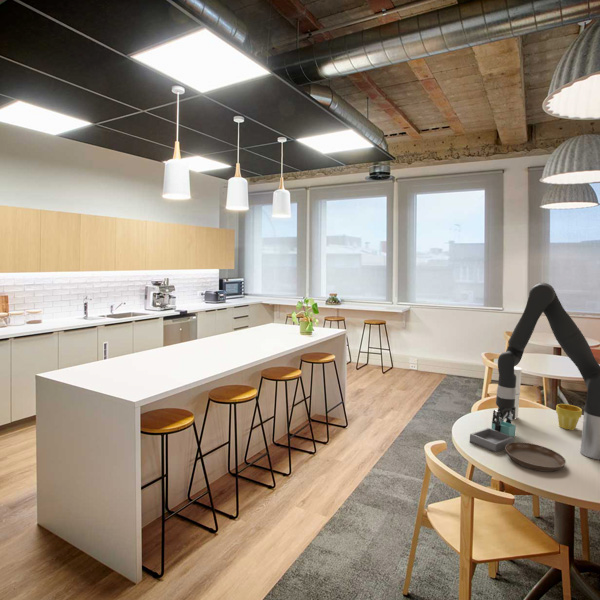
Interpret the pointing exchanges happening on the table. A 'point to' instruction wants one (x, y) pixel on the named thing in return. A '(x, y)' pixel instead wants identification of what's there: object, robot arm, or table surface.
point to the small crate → (506, 428)
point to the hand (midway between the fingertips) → (502, 430)
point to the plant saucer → (535, 456)
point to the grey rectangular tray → (491, 439)
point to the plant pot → (568, 416)
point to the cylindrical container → (517, 388)
